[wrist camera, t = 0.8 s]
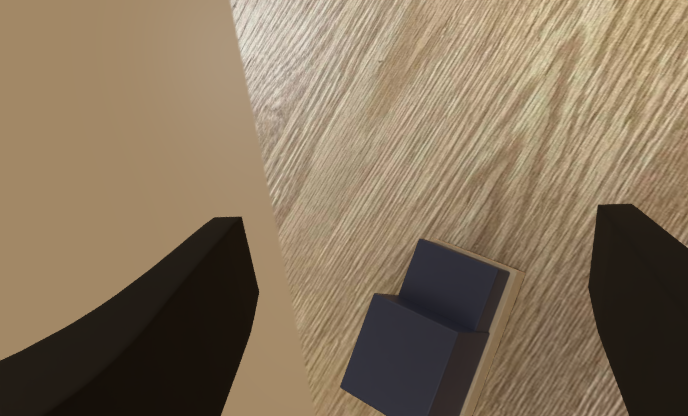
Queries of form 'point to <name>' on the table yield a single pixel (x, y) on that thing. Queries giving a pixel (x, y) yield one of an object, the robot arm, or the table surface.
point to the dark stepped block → (433, 334)
